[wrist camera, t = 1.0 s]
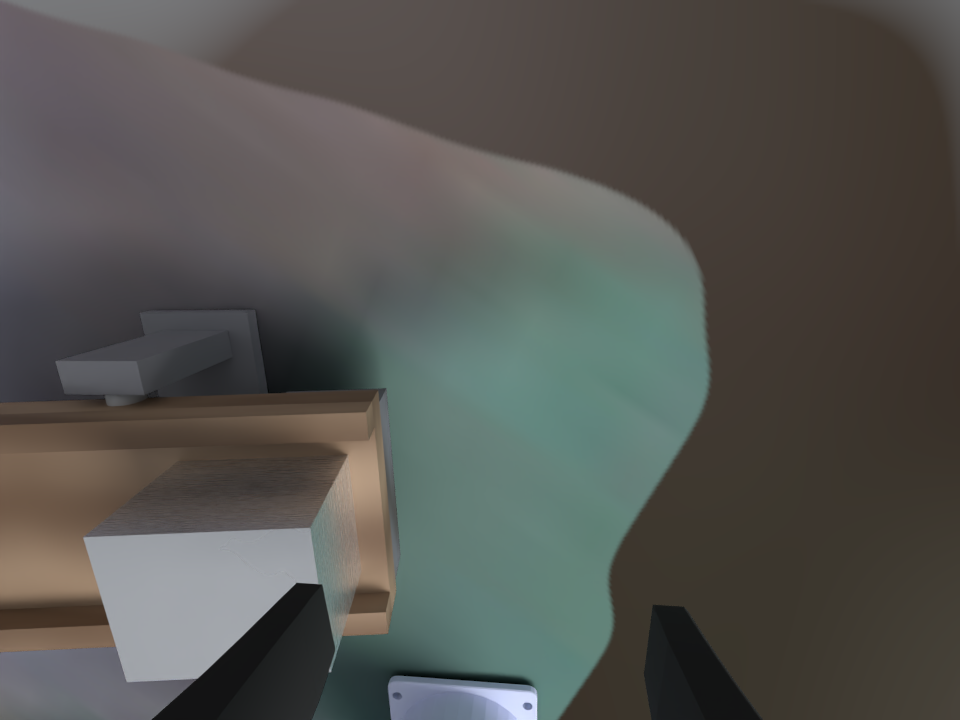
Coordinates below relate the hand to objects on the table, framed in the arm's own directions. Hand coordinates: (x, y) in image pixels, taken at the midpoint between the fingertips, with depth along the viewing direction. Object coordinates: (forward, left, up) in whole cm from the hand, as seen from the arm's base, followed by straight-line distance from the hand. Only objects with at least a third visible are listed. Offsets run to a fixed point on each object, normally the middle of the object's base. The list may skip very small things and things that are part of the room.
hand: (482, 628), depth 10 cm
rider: (-2, +8, -6) cm, 10 cm away
